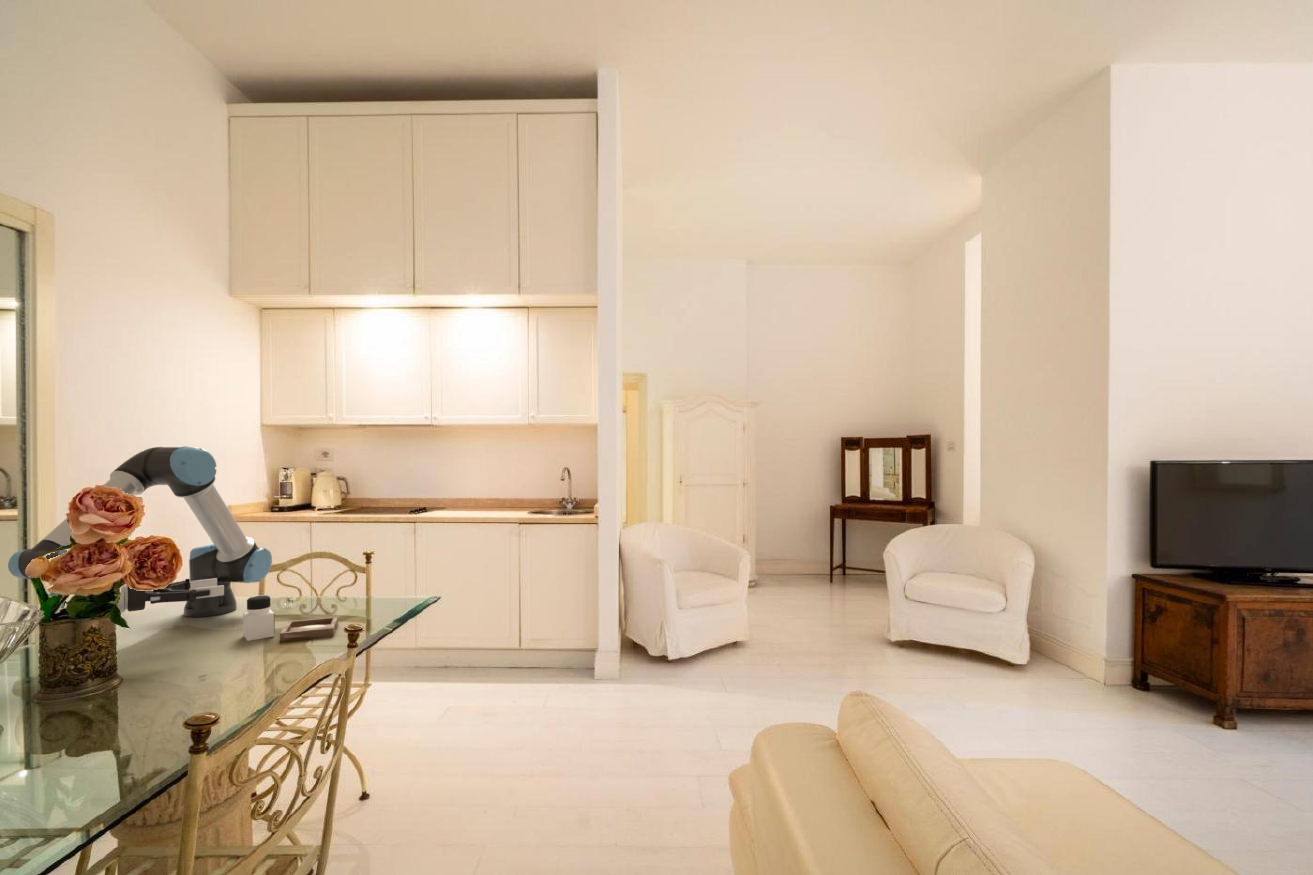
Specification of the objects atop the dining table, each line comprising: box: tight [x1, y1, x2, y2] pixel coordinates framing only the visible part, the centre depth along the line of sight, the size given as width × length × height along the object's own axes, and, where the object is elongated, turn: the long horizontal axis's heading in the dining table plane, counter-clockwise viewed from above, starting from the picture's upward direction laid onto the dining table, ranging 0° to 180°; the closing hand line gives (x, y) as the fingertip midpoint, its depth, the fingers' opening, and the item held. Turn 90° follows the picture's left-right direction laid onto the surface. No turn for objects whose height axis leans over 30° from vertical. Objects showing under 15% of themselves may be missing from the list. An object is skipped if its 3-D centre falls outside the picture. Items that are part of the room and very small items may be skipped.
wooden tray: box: [279, 616, 339, 643], centre depth 200 cm, size 14×14×2 cm
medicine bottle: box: [242, 594, 276, 642], centre depth 197 cm, size 7×7×12 cm
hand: (220, 586), depth 191 cm, fingers open, 13 cm apart
